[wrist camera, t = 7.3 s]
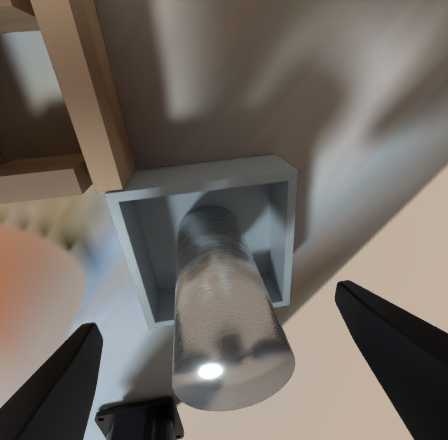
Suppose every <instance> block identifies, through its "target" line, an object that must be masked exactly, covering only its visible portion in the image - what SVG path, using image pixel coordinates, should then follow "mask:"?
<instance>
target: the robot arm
mask: <svg viewBox="0 0 448 440" xmlns="http://www.w3.org/2000/svg"><path fill="white" fill-rule="evenodd" d="M335 302H336V305H337V307H338V309H339V310H340V313H341V315H342V317H343V319H344V321H345V323H346V325H347V327H348V329H349V332H350V334H351V336H352V338H353V340H354V341H355V343H356V345H357V347H358V348H359V350H360V351H361V353H362V355H363V356H364V358H365V360H366V361H367V363H368V365H369V366H370V368H371V370H372V371H373V373H374V374H375V376H376V378H377V379H378V381H379V383H380V384H381V386H382V388H383V389H384V391H385V392H386V394H387V396H388V397H389V399H390V401H391V402H392V404H393V406H394V407H395V409H396V411H397V412H398V414H399V416H400V417H401V419H402V420H403V422H404V424H405V425H406V427H407V429H408V430H409V432H410V433H411V435H412V437H413V438H414V440H448V333H446V332H444V331H442V330H441V329H439V328H437V327H435V326H433V325H431V324H429V323H428V322H426V321H424V320H422V319H420V318H418V317H416V316H415V315H413V314H411V313H409V312H407V311H405V310H404V309H402V308H400V307H398V306H396V305H394V304H392V303H390V302H389V301H387V300H385V299H383V298H381V297H379V296H377V295H375V294H374V293H371V292H370V291H368V290H366V289H364V288H363V287H361V286H359V285H357V284H355V283H353V282H352V281H349V280H346V281H340V282H338V283H337V288H336V293H335ZM102 347H103V338H102V335H101V333H100V331H99V329H98V327H97V325H96V323H93V322H92V323H86V324H82V325H81V326H80V327H79V328H78V329H77V330H76V331H75V332H74V333H73V334H72V335H71V336H70V337H69V338H68V339H67V340H66V341H65V342H64V343H63V344H62V345H61V346H60V347H59V348H58V349H57V351H55V353H54V354H53V355H52V356H51V357H50V358H49V359H48V360H47V361H46V362H45V363H44V364H43V365H42V366H41V367H40V368H39V369H38V370H37V371H36V372H35V373H34V374H33V375H32V376H31V377H30V378H29V379H28V380H27V381H26V382H25V383H24V384H23V385H22V386H21V387H20V389H19V390H18V391H17V392H16V393H15V394H14V395H13V396H12V397H11V398H10V399H9V400H8V401H7V402H6V403H5V404H4V405H3V406H2V407H1V408H0V440H83V438H84V434H85V430H86V426H87V422H88V418H89V415H90V411H91V407H92V403H93V399H94V395H95V391H96V385H97V379H98V373H99V366H100V360H101V353H102ZM95 422H96V423H97V425H98V427H99V428H100V430H101V431H102V433H103V434H104V436H105V437H106V440H177V439H181V438H183V437H184V430H183V427H182V423H181V420H180V417H179V414H178V411H177V407H176V404H175V401H174V399H173V398H164V399H159V400H154V401H149V402H144V403H139V404H133V405H128V406H123V407H118V408H113V409H108V410H103V411H99V412H97V413H96V416H95Z"/></svg>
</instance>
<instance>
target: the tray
mask: <svg viewBox="0 0 448 440" xmlns="http://www.w3.org/2000/svg"><path fill="white" fill-rule="evenodd" d="M297 183H298V170H297V169H296V168H294V167H293V166H291V165H290V164H289V163H287V162H286V161H284V160H283V159H281V158H280V157H279V156H277V155H276V154H271V155H262V156H253V157H244V158H236V159H227V160H218V161H209V162H201V163H192V164H183V165H174V166H166V167H157V168H148V169H139V170H134V171H133V173H132V175H131V176H130V178H129V180H128V181H127V183H126V185H125V186H124V188H123V189H121V190H112V191H107V192H106V193H105V196H106V199H107V202H108V205H109V208H110V211H111V215H112V218H113V221H114V224H115V227H116V230H117V233H118V236H119V239H120V242H121V245H122V248H123V251H124V254H125V258H126V261H127V264H128V267H129V270H130V273H131V276H132V279H133V282H134V285H135V288H136V291H137V294H138V297H139V301H140V304H141V307H142V310H143V313H144V316H145V319H146V322H147V325H148V328H149V329H154V328H160V327H165V326H171V325H174V314H175V287H176V261H177V234H178V227H179V224H180V222H181V220H182V219H183V217H184V216H185V215H186V214H187V213H188V212H189V211H191V210H193V209H194V208H197V207H199V206H203V205H217V206H221V207H224V208H226V209H227V210H229V211H230V212H232V213H233V215H234V216H235V217H236V219H237V221H238V223H239V225H240V228H241V230H242V232H243V235H244V237H245V240H246V242H247V244H248V247H249V249H250V251H251V254H252V256H253V259H254V261H255V263H256V266H257V268H258V271H259V273H260V275H261V278H262V280H263V283H264V285H265V287H266V290H267V292H268V295H269V297H270V299H271V302H272V304H273V306H274V308H276V307H282V306H288V305H290V290H291V274H292V259H293V244H294V229H295V213H296V198H297Z"/></svg>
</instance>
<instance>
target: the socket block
mask: <svg viewBox="0 0 448 440" xmlns="http://www.w3.org/2000/svg"><path fill="white" fill-rule="evenodd" d="M38 30H40V31H41V34H42V36H43V39H44V42H45V45H46V48H47V51H48V54H49V57H50V60H51V63H52V66H53V69H54V71H55V74H56V77H57V80H58V83H59V86H60V89H61V92H62V95H63V98H64V101H65V104H66V106H67V109H68V112H69V115H70V118H71V121H72V124H73V127H74V130H75V133H76V136H77V139H78V142H79V144H80V147H81V150H82V152H81V153H72V154H63V155H53V156H44V157H34V158H25V159H16V160H14V161H11V162H9V163H5V161H4V159H3V157H2V155H1V153H0V204H5V203H13V202H21V201H30V200H38V199H46V198H54V197H63V196H71V195H79V194H83V193H84V192H85V191H86V190H87V189H88V188H89V187H90V186H91V185H92V184H93V185H94V188H95V191H96V192H104V191H112V190H121V189H123V188H124V186H125V185H126V183H127V181H128V180H129V178H130V176H131V175H132V173H133V171H134V170H135V164H134V160H133V156H132V152H131V147H130V143H129V139H128V135H127V131H126V127H125V123H124V119H123V115H122V111H121V107H120V103H119V99H118V95H117V91H116V87H115V83H114V79H113V75H112V71H111V67H110V63H109V59H108V55H107V51H106V47H105V43H104V39H103V35H102V31H101V27H100V23H99V19H98V15H97V11H96V7H95V3H94V0H0V33H6V32H22V31H38Z"/></svg>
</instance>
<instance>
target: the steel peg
mask: <svg viewBox="0 0 448 440" xmlns="http://www.w3.org/2000/svg"><path fill="white" fill-rule="evenodd" d="M294 368H295V358H294V354H293V352H292V350H291V347H290V345H289V342H288V340H287V338H286V335H285V333H284V330H283V328H282V326H281V323H280V321H279V318H278V316H277V314H276V311H275V309H274V306H273V304H272V302H271V299H270V297H269V295H268V292H267V290H266V287H265V285H264V283H263V280H262V278H261V275H260V273H259V271H258V268H257V266H256V263H255V261H254V259H253V256H252V254H251V251H250V249H249V247H248V244H247V242H246V240H245V237H244V235H243V232H242V230H241V228H240V225H239V223H238V221H237V219H236V217H235V216H234V215H233V213H232V212H230V211H229V210H227V209H226V208H224V207H221V206H217V205H203V206H199V207H197V208H194V209H193V210H191V211H189V212H188V213H187V214H186V215H185V216H184V217H183V219H182V220H181V222H180V224H179V227H178V234H177V261H176V287H175V314H174V340H173V366H172V388H173V391H174V393H175V394H176V396H177V397H178V398H179V399H180V400H181V401H182V402H184V403H185V404H187V405H189V406H191V407H194V408H197V409H201V410H206V411H230V410H236V409H240V408H245V407H248V406H251V405H254V404H257V403H259V402H261V401H263V400H265V399H267V398H269V397H270V396H272V395H274V394H275V393H276V392H278V391H279V390H280V389H281V388H282V387H283V386H284V385H285V384H286V383H287V382H288V381H289V379H290V378H291V376H292V374H293V371H294Z"/></svg>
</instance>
